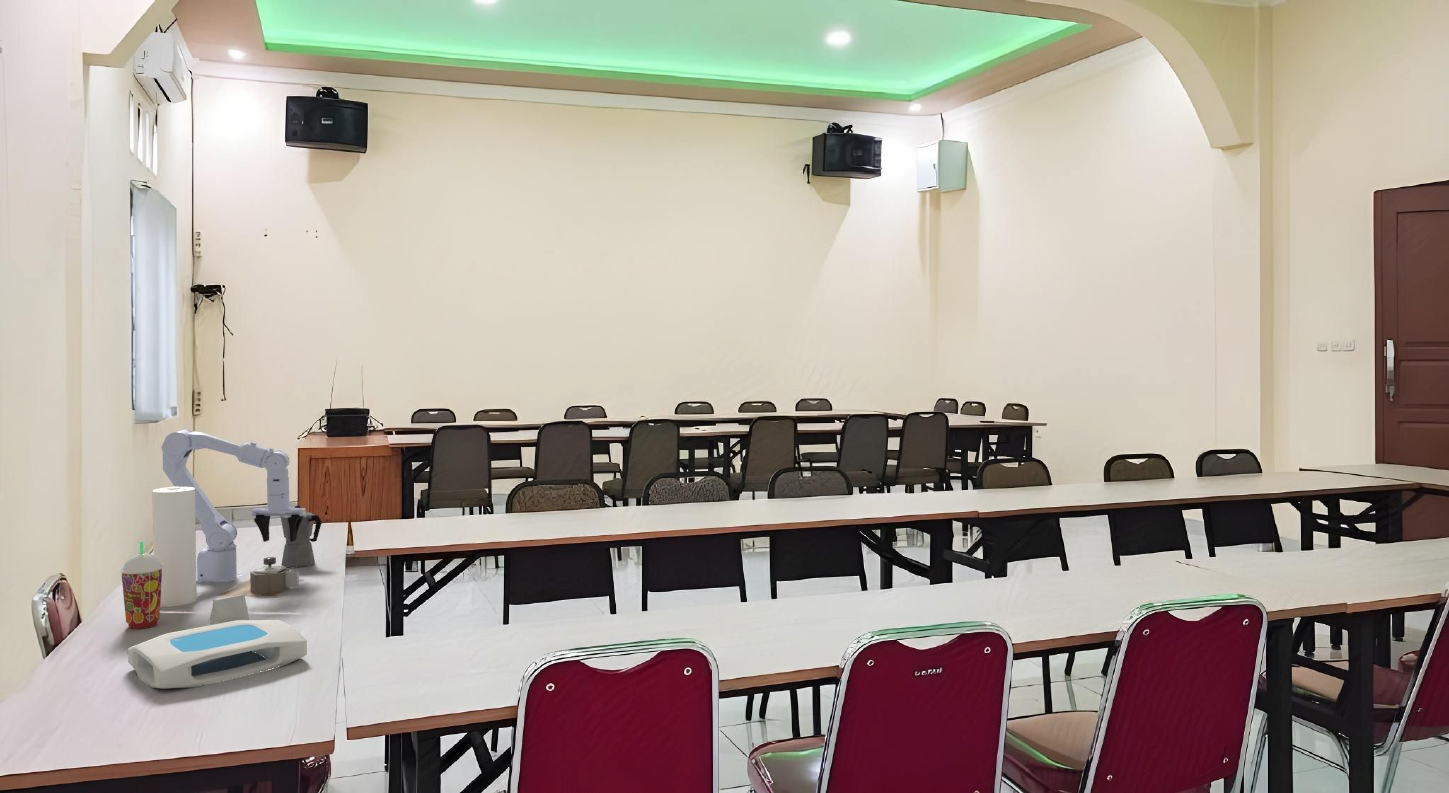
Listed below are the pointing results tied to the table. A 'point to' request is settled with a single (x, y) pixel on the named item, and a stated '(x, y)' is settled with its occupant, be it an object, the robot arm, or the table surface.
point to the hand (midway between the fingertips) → (279, 540)
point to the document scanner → (214, 652)
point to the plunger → (269, 561)
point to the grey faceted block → (273, 579)
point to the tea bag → (229, 610)
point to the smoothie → (142, 589)
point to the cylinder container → (175, 543)
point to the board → (247, 591)
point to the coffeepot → (300, 541)
